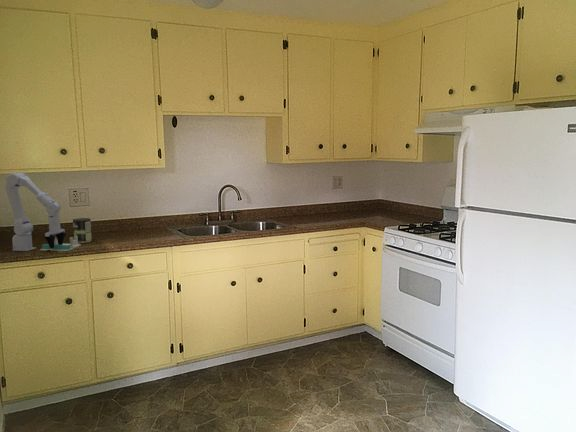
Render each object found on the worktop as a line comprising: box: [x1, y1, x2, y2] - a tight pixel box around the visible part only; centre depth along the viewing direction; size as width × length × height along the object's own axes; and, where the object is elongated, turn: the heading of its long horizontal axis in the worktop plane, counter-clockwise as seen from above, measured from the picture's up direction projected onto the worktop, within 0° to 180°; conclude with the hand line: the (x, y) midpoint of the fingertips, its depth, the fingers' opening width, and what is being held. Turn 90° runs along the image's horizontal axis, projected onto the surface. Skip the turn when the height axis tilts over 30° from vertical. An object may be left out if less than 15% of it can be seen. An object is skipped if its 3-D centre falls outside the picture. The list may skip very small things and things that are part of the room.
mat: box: [39, 248, 74, 252], centre depth 262 cm, size 17×6×1 cm, turn 81°
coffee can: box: [72, 217, 93, 244], centre depth 285 cm, size 10×10×14 cm
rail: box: [41, 243, 70, 251], centre depth 262 cm, size 16×2×2 cm, turn 81°
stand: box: [54, 235, 82, 249], centre depth 270 cm, size 15×7×6 cm, turn 81°
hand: (56, 246), depth 262 cm, fingers open, 7 cm apart
